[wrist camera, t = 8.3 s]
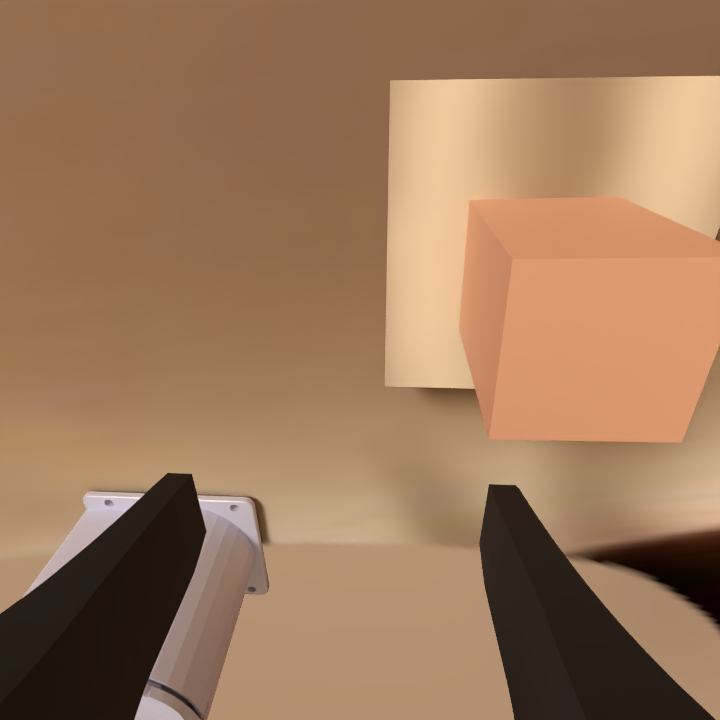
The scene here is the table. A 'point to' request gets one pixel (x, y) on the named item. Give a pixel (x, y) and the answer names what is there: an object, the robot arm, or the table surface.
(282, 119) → the table surface
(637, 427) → the terracotta block
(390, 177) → the birch base block
